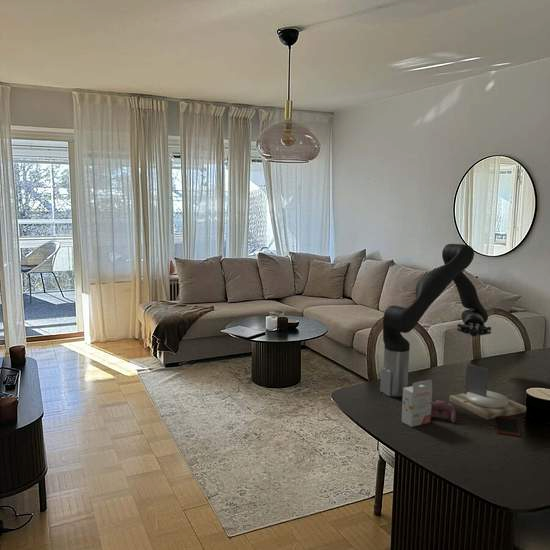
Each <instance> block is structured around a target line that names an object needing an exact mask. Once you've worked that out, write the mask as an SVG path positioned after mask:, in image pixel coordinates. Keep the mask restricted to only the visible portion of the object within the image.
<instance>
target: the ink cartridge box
mask: <svg viewBox="0 0 550 550" xmlns="http://www.w3.org/2000/svg"><path fill="white" fill-rule="evenodd" d="M401 401H402V404H401V407H402V408H401V422H402V423H403V424H405V425H406V426H409V427H411V428H413V427H417V426H422V425H425V424H429V423H431V422H432V421H431V419H432V414H431V404H432V401H433V380H432V379H428V380H421V381H416V382H413V383H412V386H407V387H406V388H403V396H402V400H401Z"/></svg>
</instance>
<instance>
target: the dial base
mask: <svg viewBox="0 0 550 550" xmlns="http://www.w3.org/2000/svg"><path fill="white" fill-rule="evenodd" d="M487 391H489V389H487ZM466 394H467V392H463V393H459V394H452V395H451V394H449V399H448V401H449V403H450V402H451V404H452V403H453V405H454V404H455V405H457V406H458V407H461V408H463V409H465V410H467V411H469V412H470V413H472V414H475V415H477V416H479V417H481V418H482V419H484V420H487V421H488V420H494V417H497V416H505V417H510V416H514V415H519V414H524V412H525V411H526V412H527V406H525V405H523V404H521V403H520V402H516V401H514V400H512V399H509V403H508V406H506V407H502V408H490V407H484V406H479V405H476V404H474V403H471V402H470V401H468V400H467V398H466ZM526 412H525V413H526Z"/></svg>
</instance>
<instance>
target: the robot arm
mask: <svg viewBox="0 0 550 550" xmlns="http://www.w3.org/2000/svg"><path fill="white" fill-rule="evenodd" d="M441 255H442V261H443V264H442V265H440V266H438V267H436V268H434V269H432V270H430V271H427V273H426V274H425V275H423V277H422V278H421V279H420V280H419V282H417V284H416V288H415V299H414V301H412V303H411V304H410V305H409V306H408V307H403V306H398V305H389V306H388V307H387V308H386V309H384V310H385V311H384V313H383V318H382V340H383V343H384V349H383V351H384V352H383V365H382V367H381V368H380V384H379V385H380V386H379V391H380V393H382V392H383V394H384V395H386V396H388V397H396V398H397V397H399V398H400V397H403V388H406V387H408V384H409V383H408V381H409V380H408V379H409V365H410V363H409V362H410V347H411V344H410V341H409V340H407V339H406V338H405V337H404V336H403V335H402V334H408V333H410V332H411V331H412V330H413V329H414V328H415V327H416V326H417V325H418V323H419V322H420V321H421V318H422V317H423V316H424V315H425V313H426V311H427V310H428V309H429V308H430V307H431V305H432V304H434V302H435V301H436V300H437V299H438V298H439V296H441V294H442V293H443V292H444V291H445V290H446V289H447V287H448V286H449V285H450V284H451V283H452V282H453V283H454V285H455V287H456V289H457V292H458V295H459V298H460V302H461V305H462V307H464V308H465V310H463V311H462V312H461V320H462V322H463V324H460V323H457V328H456V331H458V332H460V333H462V334H466V335H469V336H471V337H475V338H476V337H477V336H484V335H491V334H492V327H491V326H485V323H487V322H488V319H489V315H488V312H487V310H486V309H485V307H484V306H483V305H482V303H481V301H480V299H479V295H478V292H477V289H476V287H475V285H474V283H473V282H472V281H471V280H470V279H469V277H467V276H466V274H465V273H464V271H465V270H466V269H467V268H468V267H469V266H470V265H471V263H472V262H473V260H474V257H475V251H474V249H473V247H472V246H471V245H468V244H463V243H449V244H448V243H447V244H446V245H445V246H444V247H443V250H442V252H441Z"/></svg>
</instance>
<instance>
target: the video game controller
mask: <svg viewBox="0 0 550 550" xmlns="http://www.w3.org/2000/svg"><path fill="white" fill-rule="evenodd" d="M438 410H440V411H442V413H441V417H442V419H444V420H447V419H449V417H450V421H451V423H452V424H454V423H455V422H456V419H457V418H456V417H457V412H456V407H455V406H454V404H452V403H450V402H447V401H444V400H439V399H438V400H437V399H436V400H432V404H431V417H433V418H438V417H439V415H440V414H439V413H440V412H439V411H438Z"/></svg>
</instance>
